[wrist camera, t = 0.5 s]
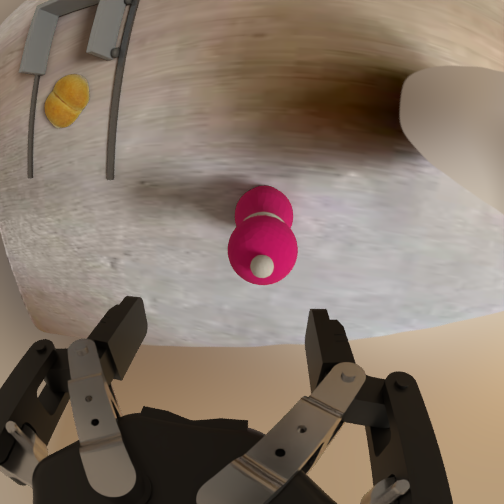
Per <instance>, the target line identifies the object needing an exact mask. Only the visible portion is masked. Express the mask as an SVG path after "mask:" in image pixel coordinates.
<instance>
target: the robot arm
mask: <svg viewBox="0 0 504 504" xmlns="http://www.w3.org/2000/svg"><path fill="white" fill-rule="evenodd" d="M146 333H147V319H146V314H145V309H144V304H143V300H142V298H141V297H133V296H126V297H125V298H124V299H123V301H122V302H121V303H120V305H115V306H114V307H112V308H111V309H109V310H108V312H107V313H106V314H105V315H104V317H103V318H102V319H101V321H100V322H99V323H98V325H97V326H96V327H95V329H94V330H93V331H92V332H91V334H90V335H89V337H88V338H87V339H79V340H77V341H75V342H73V343H72V344H71V345H70V346H69V348H68V349H55V347H54V344H53V343H52V341H50V340H47V339H43V340H39V341H37V342H35V343H34V344H33V345H32V346H31V347H30V348H29V350H28V351H27V352H26V354H25V355H24V356H23V358H22V359H21V360H20V362H19V363H18V365H17V366H16V367H15V368H14V370H13V371H12V373H11V374H10V376H9V377H8V379H7V380H6V382H5V383H4V384H3V386H2V387H1V389H0V471H1V472H2V473H4V474H5V475H6V476H8V477H10V478H11V479H12V480H13V481H15V482H16V483H17V484H19V485H28V486H30V487H32V488H33V504H337V503H336V502H335V501H333V500H332V499H331V498H330V497H329V496H328V495H327V494H326V493H325V492H324V491H323V490H322V489H321V488H320V487H319V486H318V485H317V484H316V483H314V482H313V481H312V480H311V479H310V478H309V477H308V476H307V474H308V473H309V472H310V470H311V469H312V468H313V467H314V465H315V464H316V463H317V462H318V460H319V459H320V457H321V456H322V454H323V453H324V451H325V450H326V448H327V447H328V446H329V445H330V443H331V442H332V441H333V439H334V438H335V436H336V435H337V434H338V432H339V431H340V429H341V428H342V426H343V425H344V424H345V422H348V423H353V424H359V425H364V426H365V429H366V435H367V441H368V447H369V455H370V462H371V469H372V477H373V485H374V487H373V488H372V489H371V490H369V491H368V492H367V493H366V494H365V495H364V496H363V498H362V499H361V503H360V504H453V501H452V496H451V493H450V488H449V483H448V479H447V476H446V471H445V467H444V464H443V460H442V457H441V454H440V450H439V446H438V443H437V440H436V437H435V434H434V430H433V427H432V424H431V421H430V418H429V415H428V412H427V410H426V407H425V404H424V401H423V398H422V396H421V393H420V390H419V388H418V385H417V383H416V380H415V379H414V378H413V377H412V376H411V375H409V374H407V373H405V372H393V373H391V374H389V375H388V376H387V378H386V379H380V378H375V377H370V376H367V375H366V374H365V371H364V370H363V369H362V368H361V367H360V366H359V365H357V364H356V363H355V360H354V357H353V354H352V351H351V348H350V345H349V342H348V339H347V336H346V333H345V330H344V327H343V326H342V325H341V324H340V322H339V321H338V320H330V319H329V316H328V312H327V310H326V309H310V311H309V317H308V323H307V329H306V335H305V350H306V356H307V364H308V371H309V379H310V387H311V395H310V396H309V397H307V396H304V397H302V398H301V399H300V400H299V401H298V402H297V403H296V405H294V407H293V408H292V409H291V410H290V411H289V412H288V413H287V414H286V415H285V416H284V417H283V418H282V419H281V420H280V421H279V422H278V423H277V424H276V425H275V426H274V427H273V428H272V429H271V430H270V431H269V432H268V433H267V434H266V435H265V434H263V433H261V432H259V431H257V430H254V429H251V428H248V420H235V419H223V418H219V419H209V420H196V421H195V420H194V421H193V420H189V419H186V418H184V417H181V416H179V415H176V414H173V413H171V412H169V411H165V410H160V409H155V408H150V407H145V406H143V409H142V411H141V413H134V414H128V415H125V416H123V415H122V412H121V410H120V407H119V404H118V401H117V398H116V395H115V393H114V390H113V387H112V384H111V382H112V380H113V379H117V380H123V378H124V375H125V374H126V372H127V370H128V368H129V366H130V364H131V362H132V360H133V358H134V356H135V354H136V353H137V351H138V349H139V347H140V345H141V343H142V341H143V339H144V338H145V336H146ZM43 379H44V381H45V382H46V385H45V387H44V389H43V390H42V392H41V394H40V395H39V397H38V398H37V389H38V387H39V386H40V384H41V382H42V381H43ZM69 399H70V400H71V406H72V411H73V416H74V421H75V425H76V429H77V434H78V438H79V440H78V441H76V442H74V443H72V444H71V445H69V446H67V447H65V448H63V449H61V450H59V451H57V452H55V453H53V454H51V455H49V456H48V449H47V445H48V442H49V440H50V438H51V436H52V434H53V432H54V430H55V427H56V425H57V423H58V421H59V419H60V417H61V415H62V413H63V411H64V409H65V407H66V405H67V403H68V401H69Z"/></svg>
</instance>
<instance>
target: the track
mask: <svg viewBox="0 0 504 504" xmlns="http://www.w3.org/2000/svg"><path fill="white" fill-rule="evenodd" d="M138 4H139V0H133V1H132V4H131V8H130V11H129V15H128V19H127V23H126V27H125V31H124V35H123V40H122V44H121V49H120V54H119V59H118V65H117V71H116V77H115V84H114V91H113V98H112V107H111V116H110V127H109V140H108V159H107V180H114V160H115V142H116V128H117V117H118V108H119V99H120V92H121V85H122V78H123V72H124V66H125V60H126V55H127V50H128V45H129V40H130V36H131V31H132V27H133V23H134V19H135V15H136V11H137V8H138ZM39 79H40V75H35V79H34V85H33V92H32V99H31V108H30V119H29V134H28V178H33V134H34V119H35V108H36V100H37V92H38V85H39Z"/></svg>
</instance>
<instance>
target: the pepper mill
mask: <svg viewBox="0 0 504 504" xmlns="http://www.w3.org/2000/svg"><path fill="white" fill-rule="evenodd" d="M292 222H293V210H292V206H291V204H290V202H289V200H288V199H287V197H286V196H285V195H284V194H283V193H282V192H280V191H278V190H277V189H275V188H273V187H270V186H258V187H255V188H253V189H251V190H249V191H248V192H246V193H245V194H244V195H243V196H242V197H241V198H240V200H239V201H238V203H237V206H236V209H235V223H236V226H237V227H236V228H235V230H234V231H233V233H232V234H231V236H230V239H229V243H228V257H229V261H230V264H231V266H232V268H233V269H234V271H235V272H236V273H237V274H238V275H239V276H240V277H241V278H243V279H244V280H246V281H248V282H250V283H253V284H257V285H269V284H273V283H276V282H278V281H280V280H282V279H283V278H284V277H285V276H287V275H288V274H289V272H290V271H291V270H292V268H293V266H294V265H295V262H296V259H297V253H298V247H297V241H296V238H295V236H294V234H293V232H292V230H291V229H290V228H291V226H292Z"/></svg>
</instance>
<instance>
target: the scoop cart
mask: <svg viewBox="0 0 504 504" xmlns="http://www.w3.org/2000/svg"><path fill="white" fill-rule="evenodd" d="M132 1H133V0H49V1H47V2H44V3H42V4H40V5H38V6H37V7H36V10H35V13H34V16H33V19H32V22H31V26H30V29H29V32H28V36H27V40H26V43H25V47H24V52H23V56H22V60H21V65H20V70H19V73H26V74H35V75H44V74H45V71H46V66H47V61H48V56H49V51H50V47H51V43H52V39H53V35H54V31H55V28H56V24H57V21H58V18H59V16H62V15H64V14H67V13H70V12H73V11H76V10H79V9H82V8H85V7H89V6H92V5H95V4H99V5H98V8H97V12H96V15H95V18H94V22H93V26H92V30H91V34H90V38H89V42H88V46H87V51H86V53H89V54H92V55H95V56H97V57H100V58H103V59H105V60H113V58H115V57H119V54H120V49H119V48H115V46H116V41H117V37H118V32H119V28H120V24H121V20H122V17H123V13H124V9H125V6H126V4H131V3H132Z"/></svg>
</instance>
